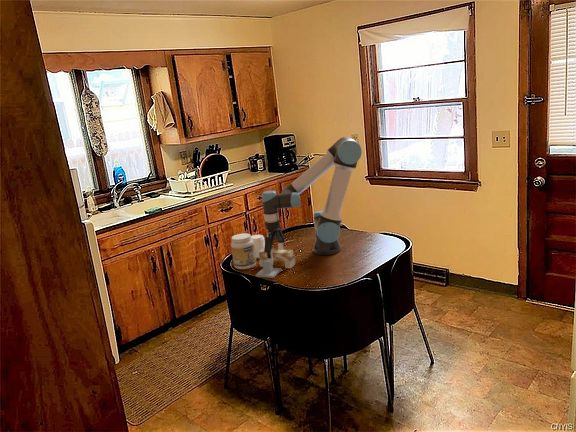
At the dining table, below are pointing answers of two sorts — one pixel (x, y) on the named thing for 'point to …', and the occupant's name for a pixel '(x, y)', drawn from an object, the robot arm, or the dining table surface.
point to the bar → (278, 255)
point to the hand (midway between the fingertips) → (276, 258)
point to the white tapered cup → (258, 244)
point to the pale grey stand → (268, 270)
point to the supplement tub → (243, 251)
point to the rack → (287, 263)
